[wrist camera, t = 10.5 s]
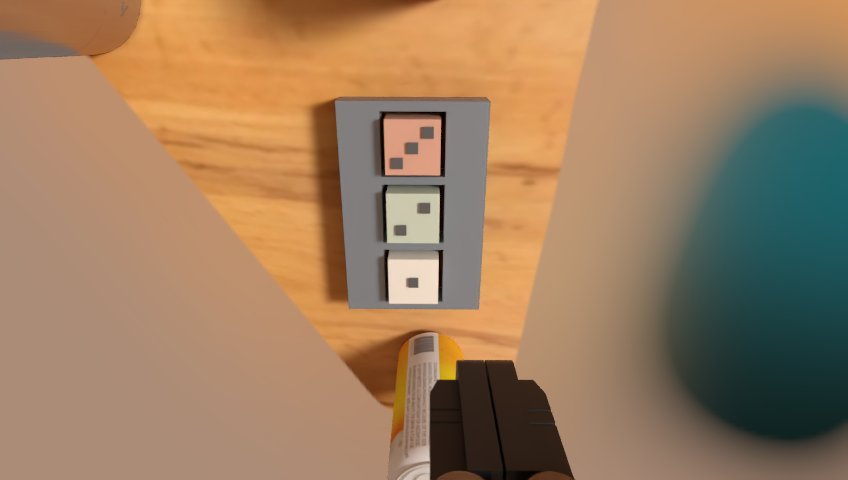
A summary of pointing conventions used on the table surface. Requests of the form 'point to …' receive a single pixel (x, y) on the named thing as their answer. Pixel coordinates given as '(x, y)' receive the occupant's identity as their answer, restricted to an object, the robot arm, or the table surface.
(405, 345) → the beer can
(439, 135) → the tile three terracotta
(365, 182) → the slate board
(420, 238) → the tile two sage
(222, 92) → the table surface
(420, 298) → the tile one cream
